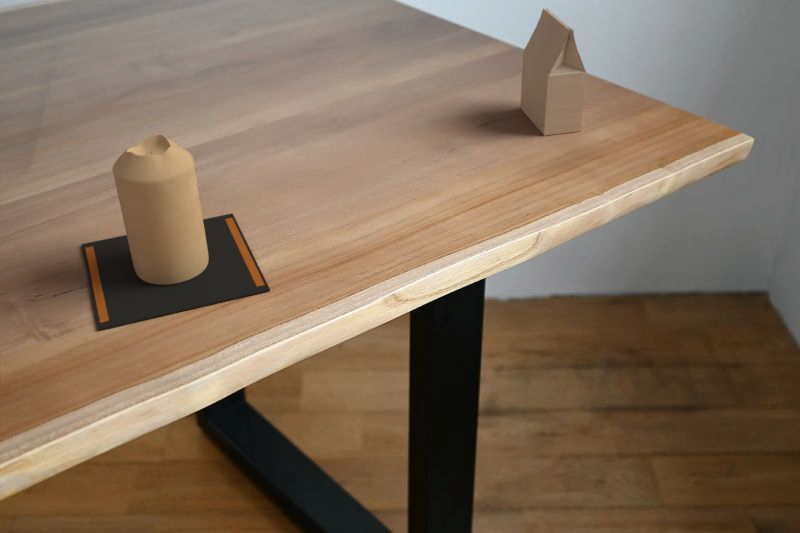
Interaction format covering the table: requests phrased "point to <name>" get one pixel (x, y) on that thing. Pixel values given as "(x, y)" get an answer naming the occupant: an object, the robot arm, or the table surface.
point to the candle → (161, 211)
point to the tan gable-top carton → (553, 78)
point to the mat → (138, 300)
